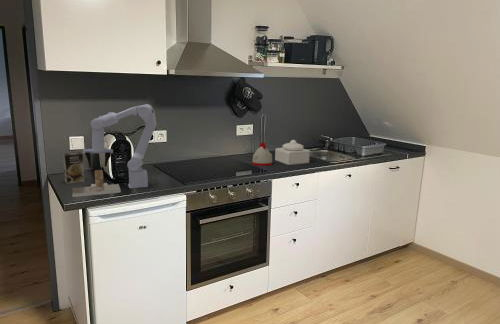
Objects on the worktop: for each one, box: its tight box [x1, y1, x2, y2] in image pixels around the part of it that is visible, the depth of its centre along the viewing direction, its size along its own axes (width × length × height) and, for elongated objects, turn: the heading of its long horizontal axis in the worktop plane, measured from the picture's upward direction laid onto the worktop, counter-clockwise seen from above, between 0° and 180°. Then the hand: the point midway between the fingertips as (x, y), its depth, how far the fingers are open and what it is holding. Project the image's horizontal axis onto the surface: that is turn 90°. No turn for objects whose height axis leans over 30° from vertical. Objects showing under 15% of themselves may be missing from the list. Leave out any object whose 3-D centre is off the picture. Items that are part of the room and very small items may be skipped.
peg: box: [94, 169, 105, 186], centre depth 204 cm, size 4×4×8 cm
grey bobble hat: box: [251, 141, 273, 167], centre depth 265 cm, size 14×14×15 cm
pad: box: [90, 182, 109, 186], centre depth 205 cm, size 8×8×1 cm
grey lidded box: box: [274, 139, 311, 166], centre depth 273 cm, size 18×18×16 cm
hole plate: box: [72, 183, 122, 198], centre depth 194 cm, size 22×11×2 cm, turn 114°
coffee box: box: [62, 152, 86, 185], centre depth 210 cm, size 9×6×16 cm
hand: (97, 166), depth 203 cm, fingers open, 7 cm apart
